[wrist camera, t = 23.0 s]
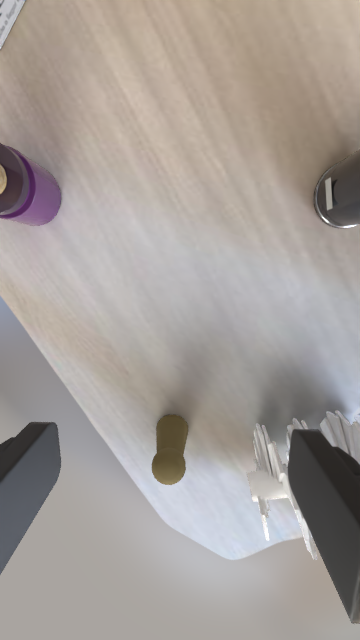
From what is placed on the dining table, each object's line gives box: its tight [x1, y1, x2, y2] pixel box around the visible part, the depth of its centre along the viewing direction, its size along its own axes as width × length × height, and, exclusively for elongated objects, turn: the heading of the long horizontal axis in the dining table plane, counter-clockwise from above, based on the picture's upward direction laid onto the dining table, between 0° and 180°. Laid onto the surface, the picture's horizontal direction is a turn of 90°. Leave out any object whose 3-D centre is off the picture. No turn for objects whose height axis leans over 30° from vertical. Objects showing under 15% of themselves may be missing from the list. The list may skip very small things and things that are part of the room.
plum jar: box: [0, 143, 61, 226], centre depth 37 cm, size 9×9×9 cm
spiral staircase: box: [247, 410, 360, 560], centre depth 40 cm, size 18×18×25 cm
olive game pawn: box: [152, 415, 188, 485], centre depth 44 cm, size 6×6×11 cm
